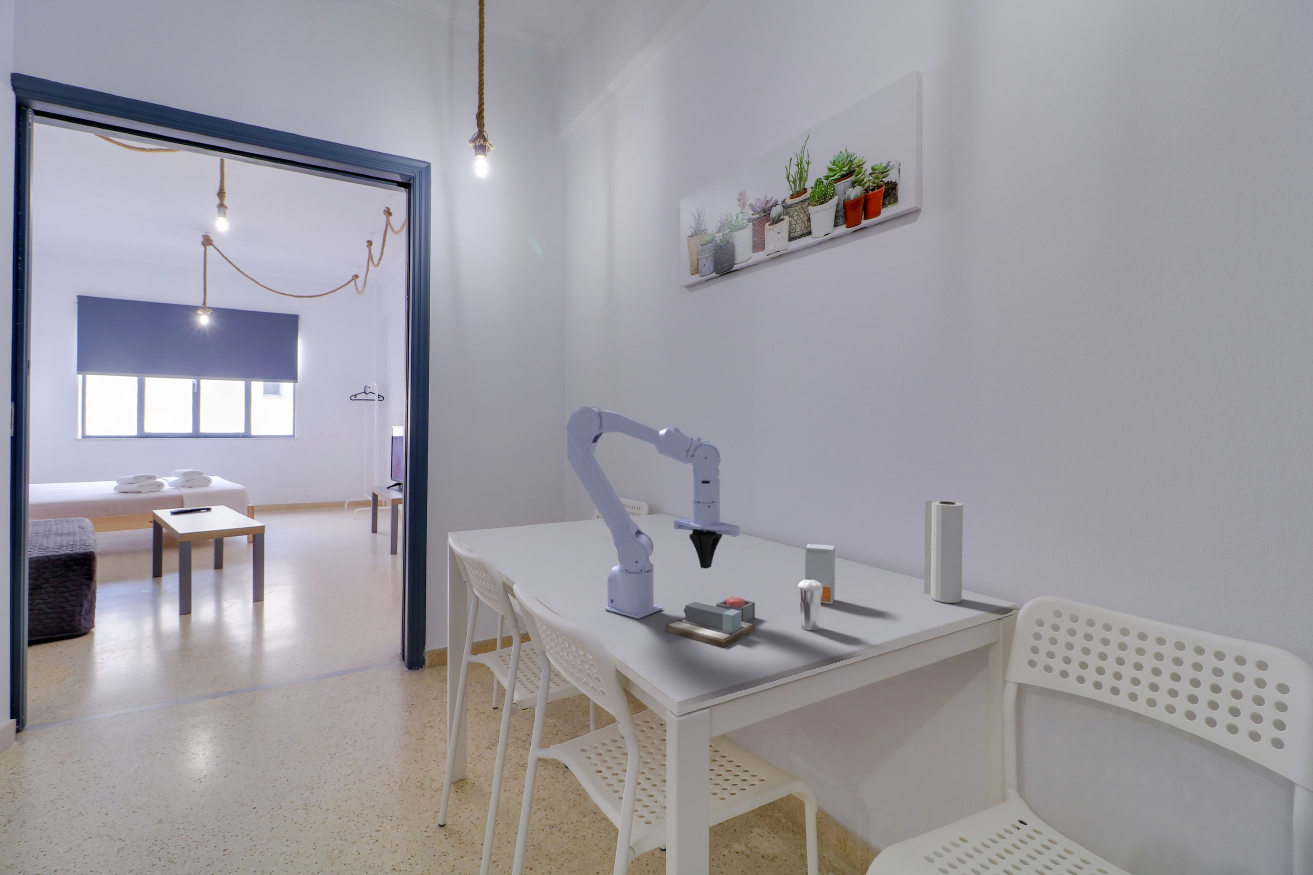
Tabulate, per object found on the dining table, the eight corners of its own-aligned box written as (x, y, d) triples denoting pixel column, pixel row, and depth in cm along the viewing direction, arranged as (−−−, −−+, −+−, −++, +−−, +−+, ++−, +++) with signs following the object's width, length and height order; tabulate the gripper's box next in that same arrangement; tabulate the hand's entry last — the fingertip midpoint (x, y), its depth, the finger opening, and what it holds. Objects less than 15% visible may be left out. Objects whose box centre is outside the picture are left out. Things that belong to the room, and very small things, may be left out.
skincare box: (804, 601, 131) (804, 547, 130) (807, 596, 135) (807, 543, 134) (833, 604, 128) (833, 549, 128) (835, 599, 132) (835, 545, 132)
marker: (680, 619, 116) (680, 603, 116) (690, 615, 119) (690, 599, 118) (732, 632, 109) (731, 615, 109) (741, 628, 111) (741, 610, 111)
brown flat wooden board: (665, 630, 114) (665, 624, 113) (699, 615, 122) (699, 609, 122) (723, 647, 105) (723, 640, 105) (755, 629, 114) (755, 623, 114)
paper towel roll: (966, 604, 129) (968, 504, 128) (937, 603, 129) (939, 504, 128) (951, 593, 136) (952, 499, 135) (924, 593, 136) (925, 499, 135)
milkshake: (822, 634, 111) (822, 581, 111) (794, 629, 114) (794, 576, 114) (829, 627, 115) (830, 575, 115) (802, 622, 118) (802, 571, 118)
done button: (723, 615, 120) (723, 600, 120) (732, 610, 123) (732, 596, 123) (738, 619, 118) (738, 604, 118) (748, 614, 121) (748, 599, 121)
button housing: (716, 618, 120) (716, 603, 120) (731, 611, 125) (731, 596, 125) (740, 624, 117) (740, 609, 117) (755, 616, 121) (755, 602, 121)
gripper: (665, 500, 124) (665, 566, 125) (727, 506, 116) (727, 576, 116) (684, 496, 130) (684, 559, 130) (744, 502, 121) (744, 569, 122)
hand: (705, 567), depth 124 cm, fingers closed
